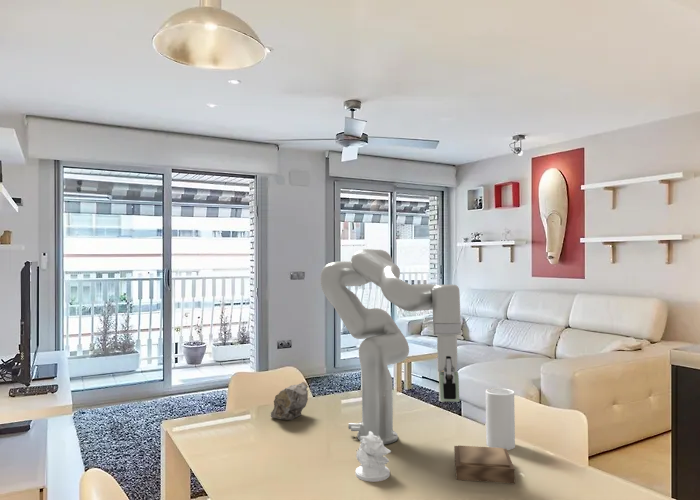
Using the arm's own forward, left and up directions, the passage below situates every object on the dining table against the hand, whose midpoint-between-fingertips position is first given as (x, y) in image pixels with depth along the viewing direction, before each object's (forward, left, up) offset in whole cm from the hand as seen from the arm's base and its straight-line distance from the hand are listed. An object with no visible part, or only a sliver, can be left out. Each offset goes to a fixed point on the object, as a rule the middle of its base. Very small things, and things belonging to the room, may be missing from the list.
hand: (449, 395), depth 137 cm
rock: (-55, +32, -18) cm, 66 cm away
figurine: (-20, -11, -18) cm, 29 cm away
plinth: (+8, -4, -18) cm, 20 cm away
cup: (+15, +16, -18) cm, 29 cm away
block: (0, 0, -1) cm, 1 cm away
